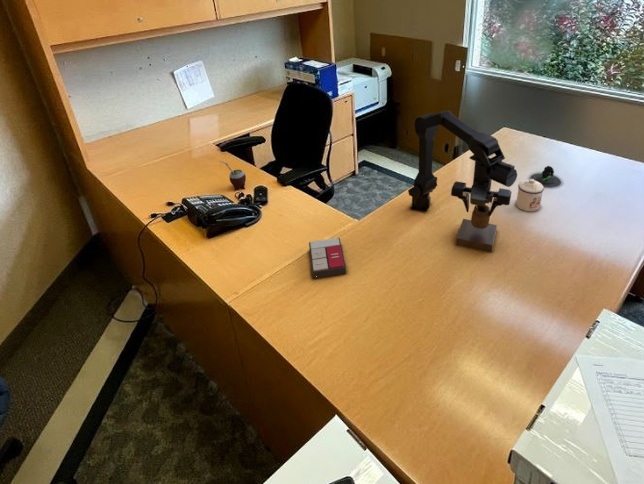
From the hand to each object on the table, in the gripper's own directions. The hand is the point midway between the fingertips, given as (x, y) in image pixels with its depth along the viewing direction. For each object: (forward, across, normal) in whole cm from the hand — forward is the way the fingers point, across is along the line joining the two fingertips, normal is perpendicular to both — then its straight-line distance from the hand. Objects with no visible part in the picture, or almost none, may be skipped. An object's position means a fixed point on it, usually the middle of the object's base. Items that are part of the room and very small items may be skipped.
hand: (478, 213), depth 142 cm
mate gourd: (+11, -106, +2) cm, 106 cm away
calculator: (+11, -45, -29) cm, 54 cm away
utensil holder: (+5, 0, 0) cm, 5 cm away
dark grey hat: (+11, +21, +49) cm, 54 cm away
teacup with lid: (+11, +16, +28) cm, 34 cm away
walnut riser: (+11, 0, 0) cm, 11 cm away
